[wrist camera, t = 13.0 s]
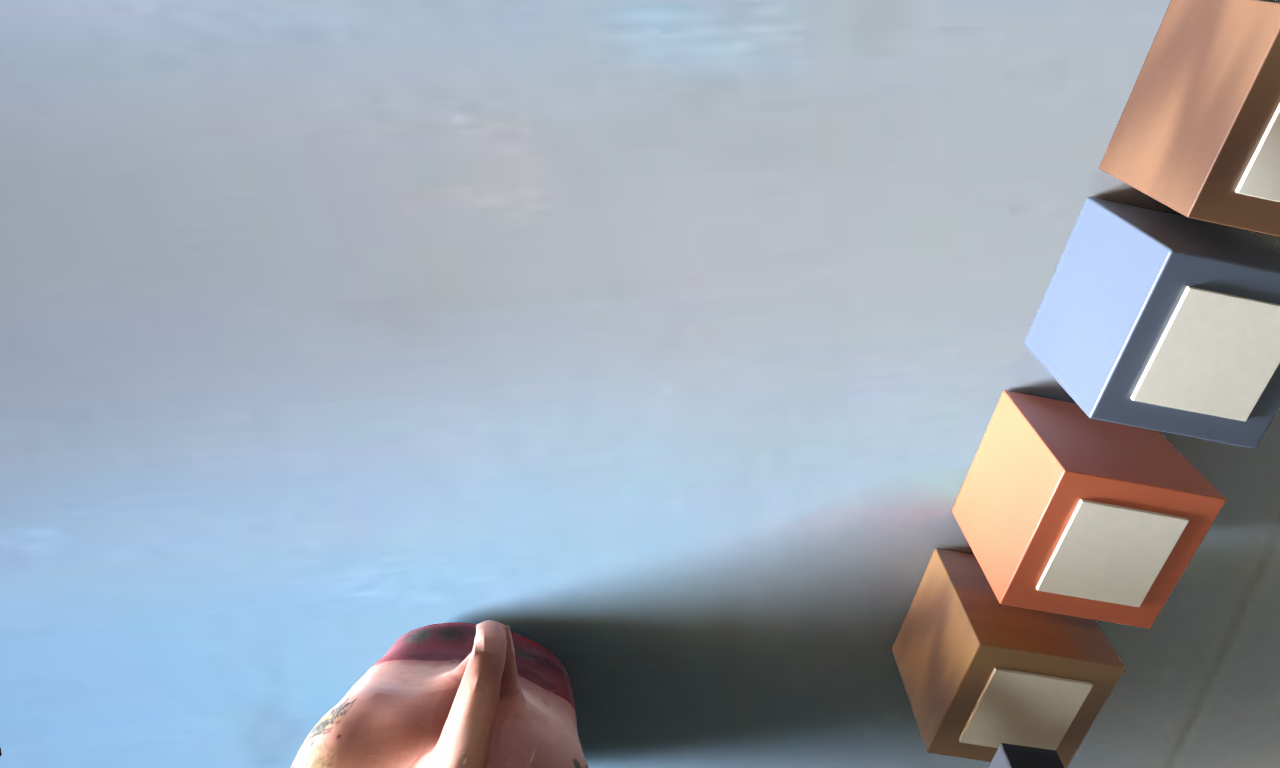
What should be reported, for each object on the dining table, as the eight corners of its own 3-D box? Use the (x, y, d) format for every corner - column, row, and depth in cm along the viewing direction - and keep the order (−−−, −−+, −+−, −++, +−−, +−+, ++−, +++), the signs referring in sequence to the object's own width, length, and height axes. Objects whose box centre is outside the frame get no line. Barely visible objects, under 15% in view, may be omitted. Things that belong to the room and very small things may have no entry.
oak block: (934, 547, 40) (980, 646, 35) (1063, 569, 41) (1128, 670, 35) (891, 648, 43) (927, 756, 37) (1012, 668, 43) (1065, 776, 38)
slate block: (1086, 195, 33) (1174, 250, 27) (1240, 227, 33) (1356, 288, 28) (1022, 344, 36) (1091, 421, 30) (1165, 371, 36) (1258, 452, 31)
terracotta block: (1003, 389, 36) (1066, 472, 31) (1143, 415, 37) (1229, 501, 32) (951, 510, 39) (1001, 607, 34) (1082, 533, 40) (1152, 632, 34)
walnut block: (1175, -12, 30) (1294, 4, 24) (1343, 27, 30) (1497, 51, 25) (1098, 168, 32) (1189, 219, 27) (1253, 201, 33) (1374, 257, 27)
